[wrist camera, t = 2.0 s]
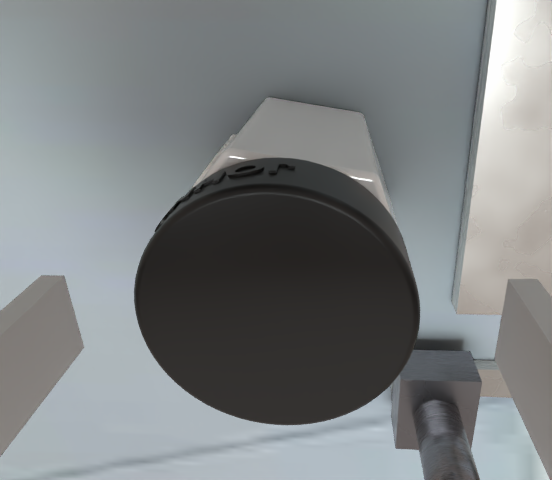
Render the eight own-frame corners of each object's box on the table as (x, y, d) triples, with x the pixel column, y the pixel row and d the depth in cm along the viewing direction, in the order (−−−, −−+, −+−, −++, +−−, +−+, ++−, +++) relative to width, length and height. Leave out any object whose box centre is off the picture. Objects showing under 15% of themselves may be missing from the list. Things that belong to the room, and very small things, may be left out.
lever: (395, 349, 26) (430, 554, 16) (470, 351, 26) (552, 564, 16) (391, 415, 29) (419, 631, 19) (460, 418, 28) (527, 643, 18)
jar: (293, 53, 21) (250, 99, 11) (424, 166, 23) (501, 306, 12) (187, 195, 25) (74, 335, 14) (305, 284, 27) (284, 471, 16)
